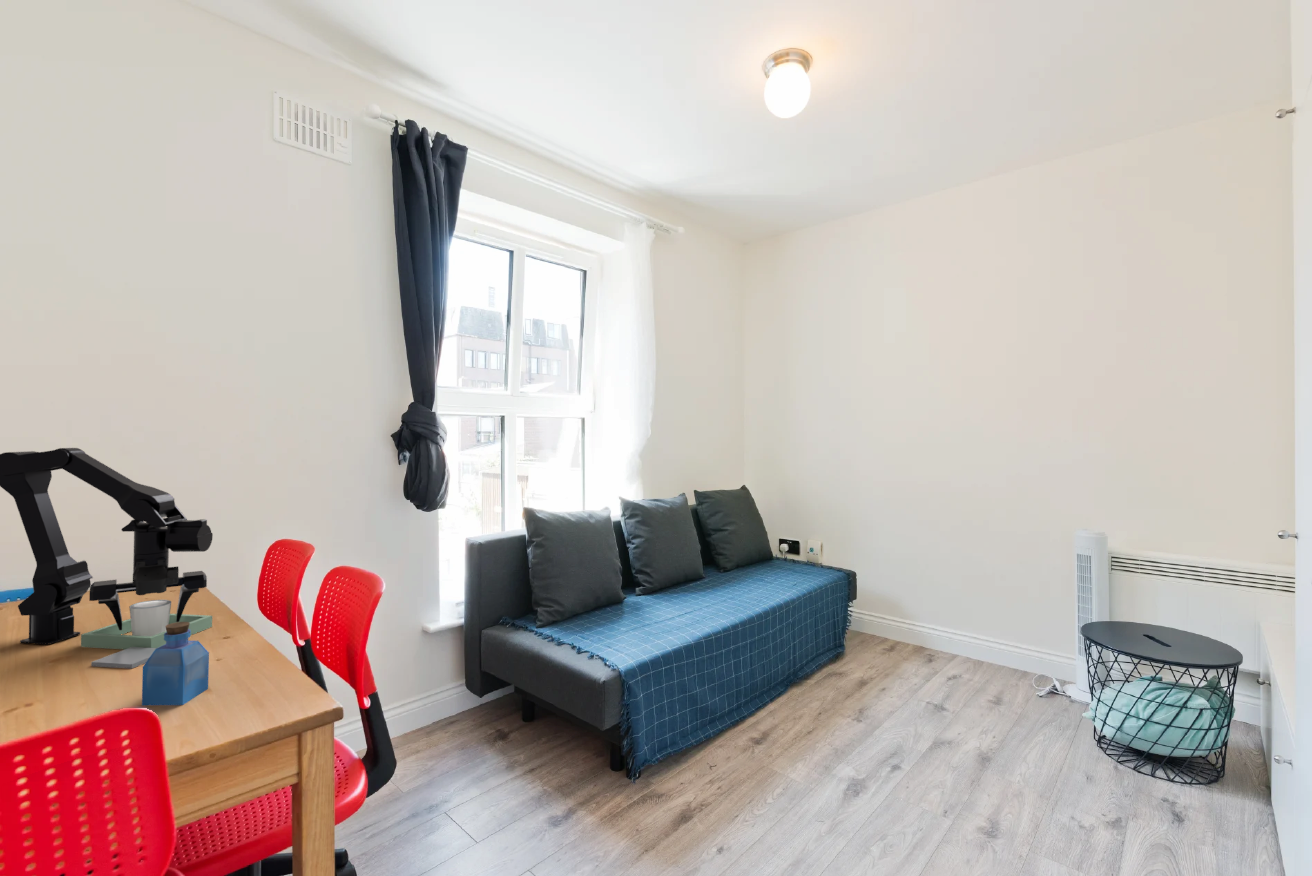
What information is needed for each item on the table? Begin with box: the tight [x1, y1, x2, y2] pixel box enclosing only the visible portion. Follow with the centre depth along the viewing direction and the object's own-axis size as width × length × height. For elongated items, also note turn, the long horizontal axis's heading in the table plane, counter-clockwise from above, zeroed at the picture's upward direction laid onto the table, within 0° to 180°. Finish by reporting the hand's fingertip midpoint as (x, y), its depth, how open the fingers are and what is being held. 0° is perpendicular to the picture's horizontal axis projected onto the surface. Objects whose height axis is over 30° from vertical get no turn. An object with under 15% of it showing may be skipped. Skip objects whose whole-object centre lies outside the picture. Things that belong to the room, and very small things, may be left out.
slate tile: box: [90, 647, 157, 669], centre depth 115 cm, size 8×8×1 cm
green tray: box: [80, 613, 213, 650], centre depth 128 cm, size 15×15×2 cm
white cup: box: [129, 599, 172, 636], centre depth 127 cm, size 7×7×7 cm
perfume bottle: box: [141, 622, 210, 706], centre depth 100 cm, size 6×6×12 cm
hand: (149, 625), depth 127 cm, fingers open, 9 cm apart
